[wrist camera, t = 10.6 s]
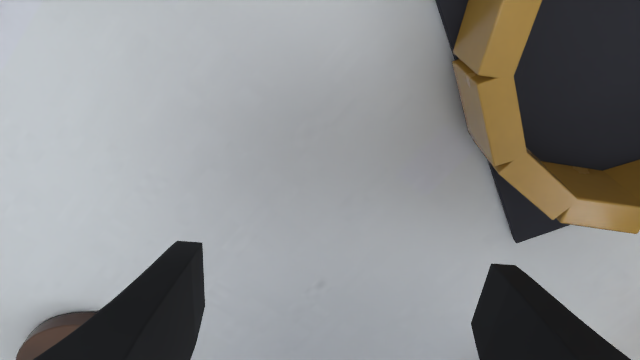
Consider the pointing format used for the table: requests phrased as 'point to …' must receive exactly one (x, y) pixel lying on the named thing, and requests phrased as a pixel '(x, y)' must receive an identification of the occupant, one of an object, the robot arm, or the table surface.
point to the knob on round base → (51, 334)
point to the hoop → (507, 132)
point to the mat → (571, 93)
